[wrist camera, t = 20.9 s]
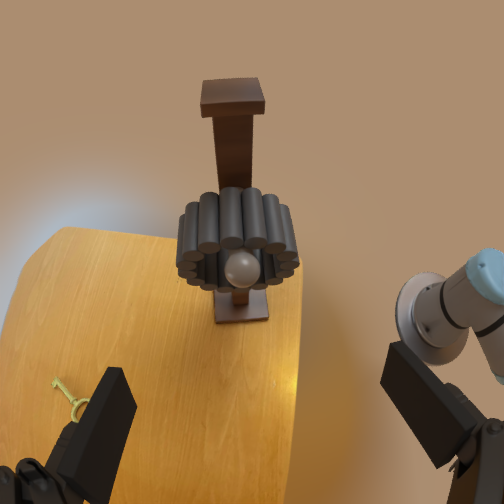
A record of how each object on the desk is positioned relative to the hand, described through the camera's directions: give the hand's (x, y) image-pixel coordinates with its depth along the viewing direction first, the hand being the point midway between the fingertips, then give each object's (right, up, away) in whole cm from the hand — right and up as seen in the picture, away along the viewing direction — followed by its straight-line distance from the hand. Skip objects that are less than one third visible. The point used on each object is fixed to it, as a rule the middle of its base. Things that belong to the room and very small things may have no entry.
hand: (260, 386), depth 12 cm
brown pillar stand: (-2, -6, +40) cm, 41 cm away
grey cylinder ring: (-3, +4, +19) cm, 19 cm away
